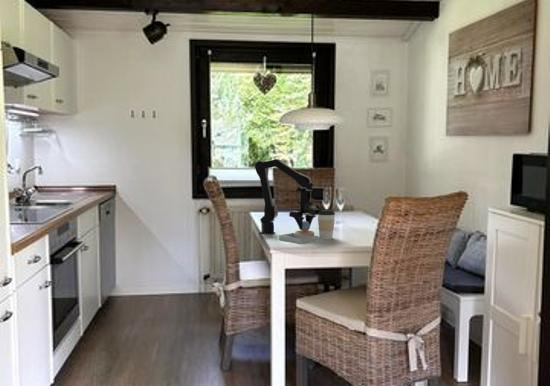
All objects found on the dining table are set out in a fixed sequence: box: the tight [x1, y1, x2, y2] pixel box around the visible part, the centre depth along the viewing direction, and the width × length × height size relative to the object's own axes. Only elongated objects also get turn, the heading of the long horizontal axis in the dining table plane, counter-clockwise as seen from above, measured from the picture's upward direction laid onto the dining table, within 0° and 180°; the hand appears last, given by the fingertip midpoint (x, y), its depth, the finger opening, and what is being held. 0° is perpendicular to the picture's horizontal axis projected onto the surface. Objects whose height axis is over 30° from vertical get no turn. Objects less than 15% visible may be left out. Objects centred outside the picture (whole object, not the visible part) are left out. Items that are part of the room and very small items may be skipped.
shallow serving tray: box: [278, 232, 316, 245], centre depth 269 cm, size 15×10×2 cm
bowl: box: [294, 229, 315, 236], centre depth 282 cm, size 10×10×2 cm
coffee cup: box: [317, 208, 336, 240], centre depth 276 cm, size 9×9×15 cm
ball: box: [302, 220, 311, 232], centre depth 282 cm, size 6×6×6 cm
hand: (304, 229), depth 282 cm, fingers closed on ball, 6 cm apart
